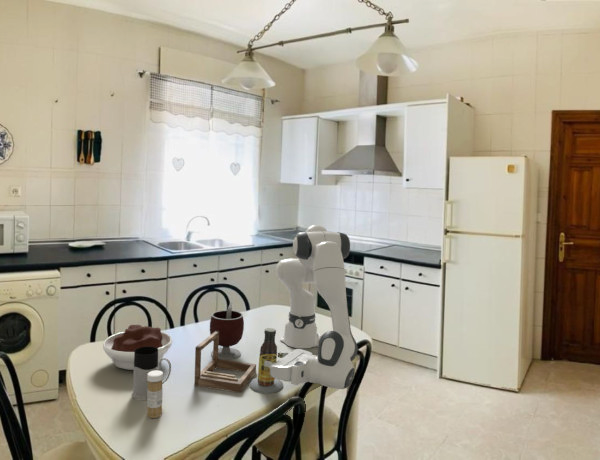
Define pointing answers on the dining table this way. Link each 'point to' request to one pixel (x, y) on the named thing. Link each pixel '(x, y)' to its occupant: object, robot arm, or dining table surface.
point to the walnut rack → (222, 364)
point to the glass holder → (145, 370)
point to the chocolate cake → (135, 344)
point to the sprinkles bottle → (154, 394)
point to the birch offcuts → (220, 376)
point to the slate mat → (266, 389)
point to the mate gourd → (227, 332)
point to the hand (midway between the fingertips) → (272, 358)
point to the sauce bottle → (267, 357)
